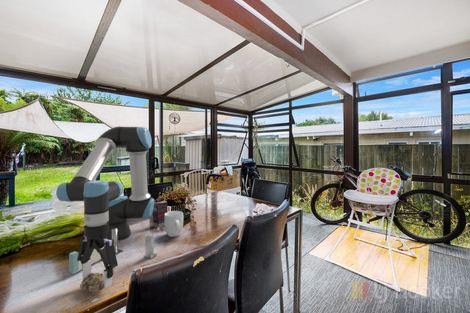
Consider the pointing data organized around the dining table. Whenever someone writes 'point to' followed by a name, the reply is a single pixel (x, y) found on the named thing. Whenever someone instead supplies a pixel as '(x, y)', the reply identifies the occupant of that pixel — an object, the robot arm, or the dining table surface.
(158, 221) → the supplement box
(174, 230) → the mug
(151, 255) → the latch post
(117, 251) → the hinge post
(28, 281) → the dining table surface
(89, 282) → the mineral rock
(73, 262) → the gate
